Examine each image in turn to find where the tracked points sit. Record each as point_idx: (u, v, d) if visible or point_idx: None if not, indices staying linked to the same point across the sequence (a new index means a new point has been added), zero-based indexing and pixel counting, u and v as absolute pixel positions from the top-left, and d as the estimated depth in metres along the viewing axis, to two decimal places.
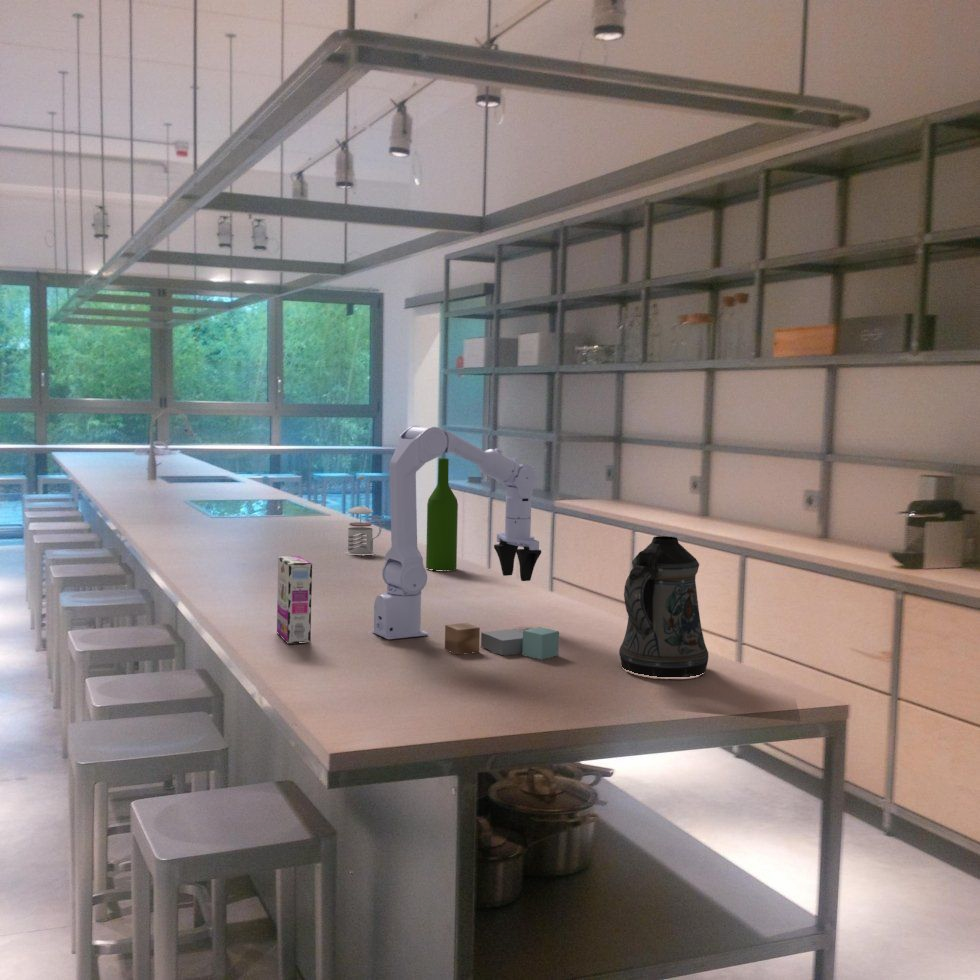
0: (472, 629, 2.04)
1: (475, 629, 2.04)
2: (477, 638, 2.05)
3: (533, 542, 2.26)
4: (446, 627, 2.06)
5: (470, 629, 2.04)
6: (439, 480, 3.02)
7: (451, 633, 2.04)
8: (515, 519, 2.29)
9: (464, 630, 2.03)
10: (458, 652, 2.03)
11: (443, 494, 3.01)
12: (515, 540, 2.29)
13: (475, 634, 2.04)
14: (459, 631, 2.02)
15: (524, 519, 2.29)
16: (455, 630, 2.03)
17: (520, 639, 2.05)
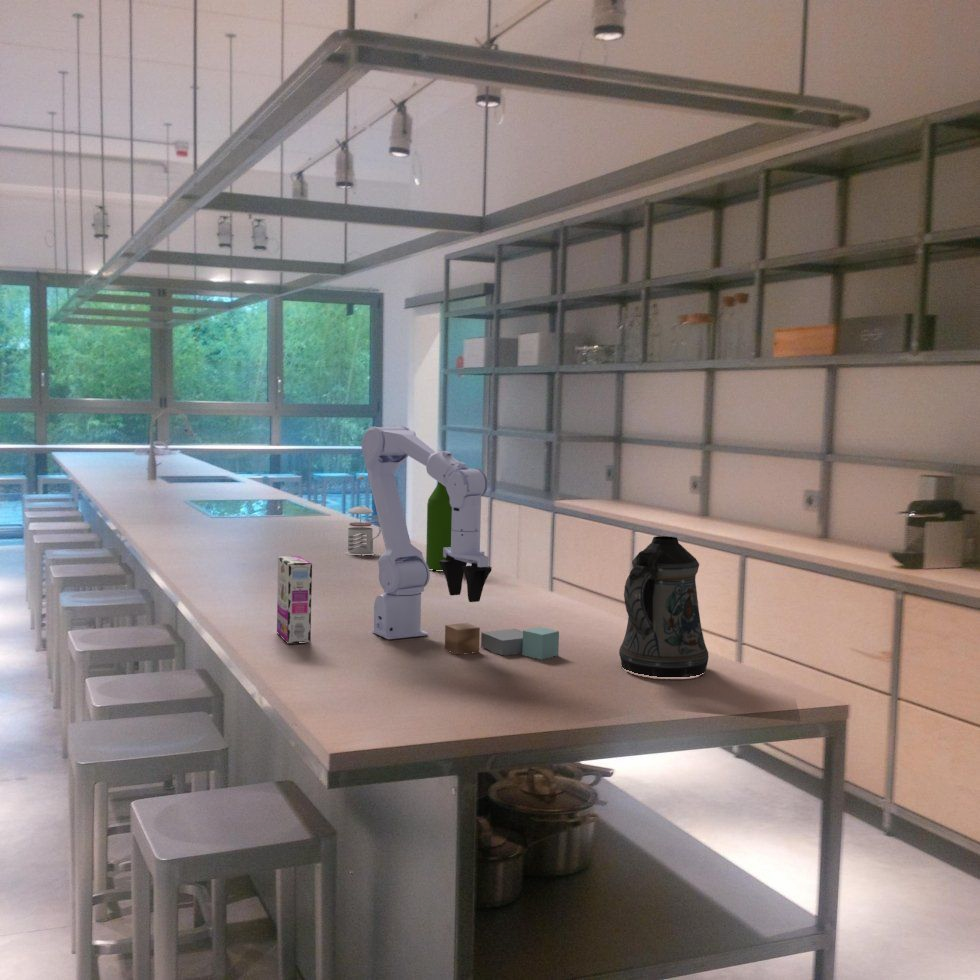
0: (472, 629, 2.04)
1: (475, 629, 2.04)
2: (477, 638, 2.05)
3: (482, 558, 1.99)
4: (446, 627, 2.06)
5: (470, 629, 2.04)
6: None
7: (451, 633, 2.04)
8: (462, 532, 2.02)
9: (464, 630, 2.03)
10: (458, 652, 2.03)
11: (443, 494, 3.01)
12: (462, 556, 2.01)
13: (475, 634, 2.04)
14: (459, 631, 2.02)
15: (472, 532, 2.02)
16: (455, 630, 2.03)
17: (520, 639, 2.05)
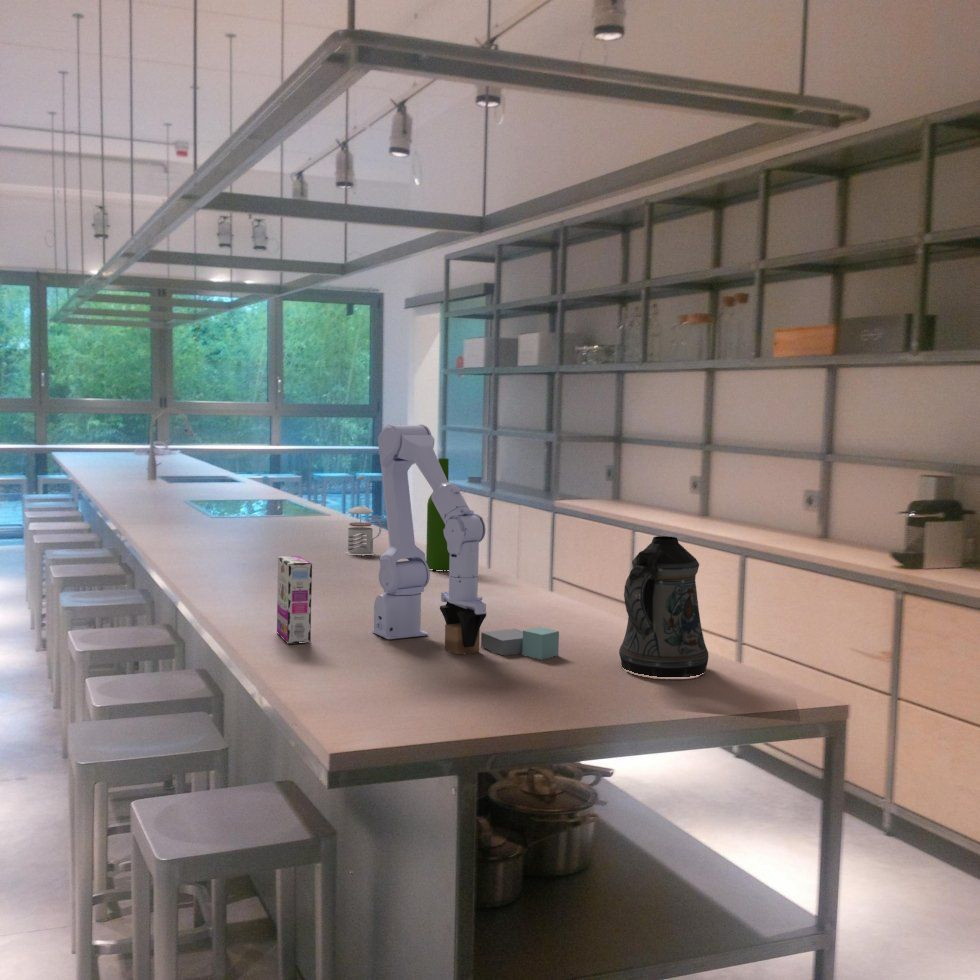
0: None
1: None
2: (477, 637, 2.05)
3: (479, 606, 1.99)
4: (446, 626, 2.06)
5: None
6: None
7: (451, 633, 2.04)
8: (459, 578, 2.02)
9: None
10: (458, 651, 2.03)
11: None
12: (459, 602, 2.02)
13: None
14: (459, 630, 2.02)
15: (470, 578, 2.02)
16: (455, 629, 2.03)
17: (520, 639, 2.05)
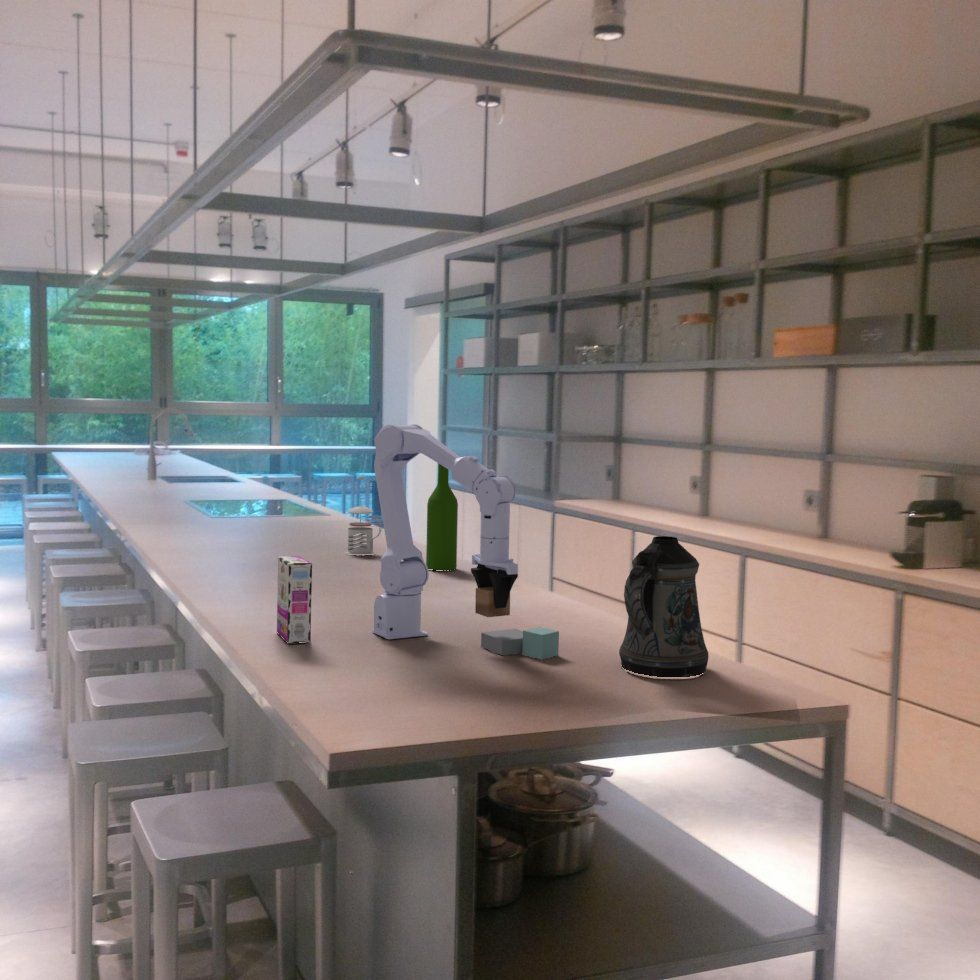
0: None
1: None
2: (508, 600, 2.05)
3: (511, 566, 1.99)
4: (476, 590, 2.07)
5: None
6: (439, 480, 3.02)
7: (482, 596, 2.05)
8: (491, 539, 2.03)
9: None
10: (489, 614, 2.03)
11: (443, 494, 3.01)
12: (491, 563, 2.02)
13: None
14: (490, 593, 2.03)
15: (501, 539, 2.03)
16: (486, 592, 2.04)
17: (520, 639, 2.05)
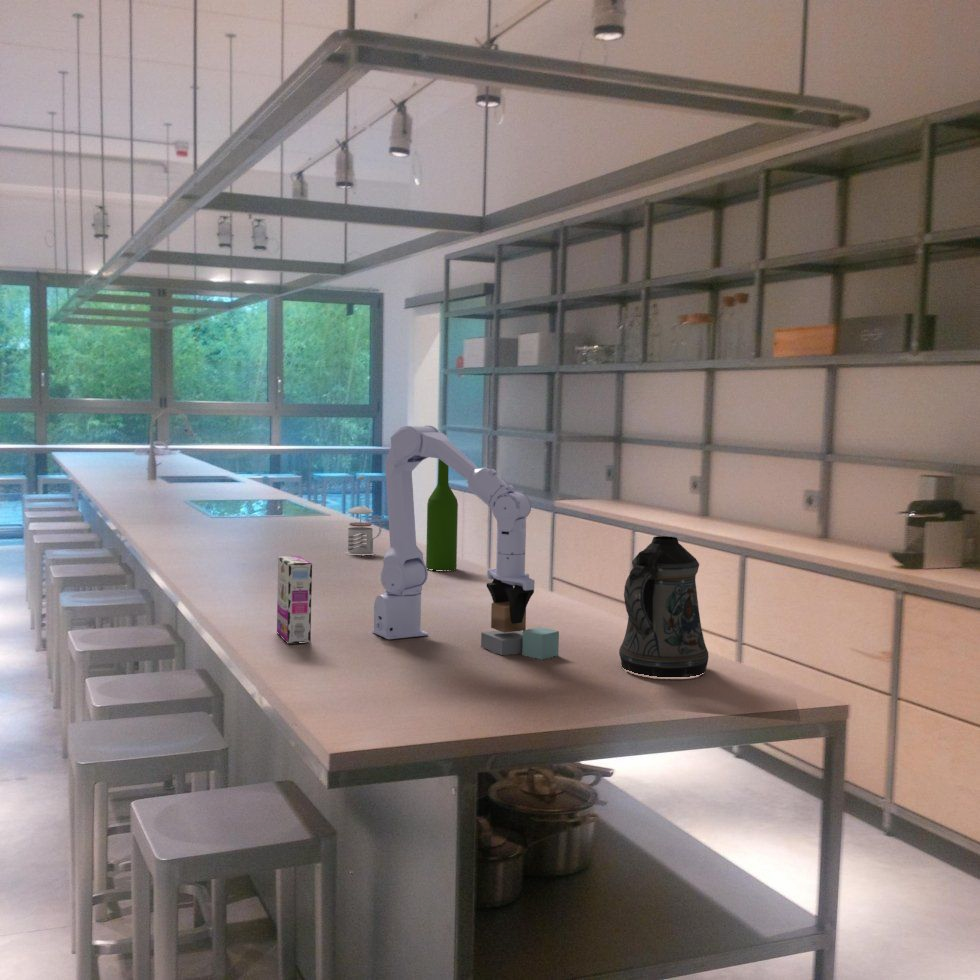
0: None
1: None
2: (524, 616, 2.06)
3: (528, 582, 2.00)
4: (492, 605, 2.08)
5: None
6: (439, 480, 3.02)
7: (498, 611, 2.06)
8: (507, 555, 2.04)
9: None
10: (505, 629, 2.04)
11: (443, 494, 3.01)
12: (507, 578, 2.03)
13: None
14: (506, 608, 2.04)
15: (518, 555, 2.04)
16: (502, 608, 2.05)
17: (520, 639, 2.05)
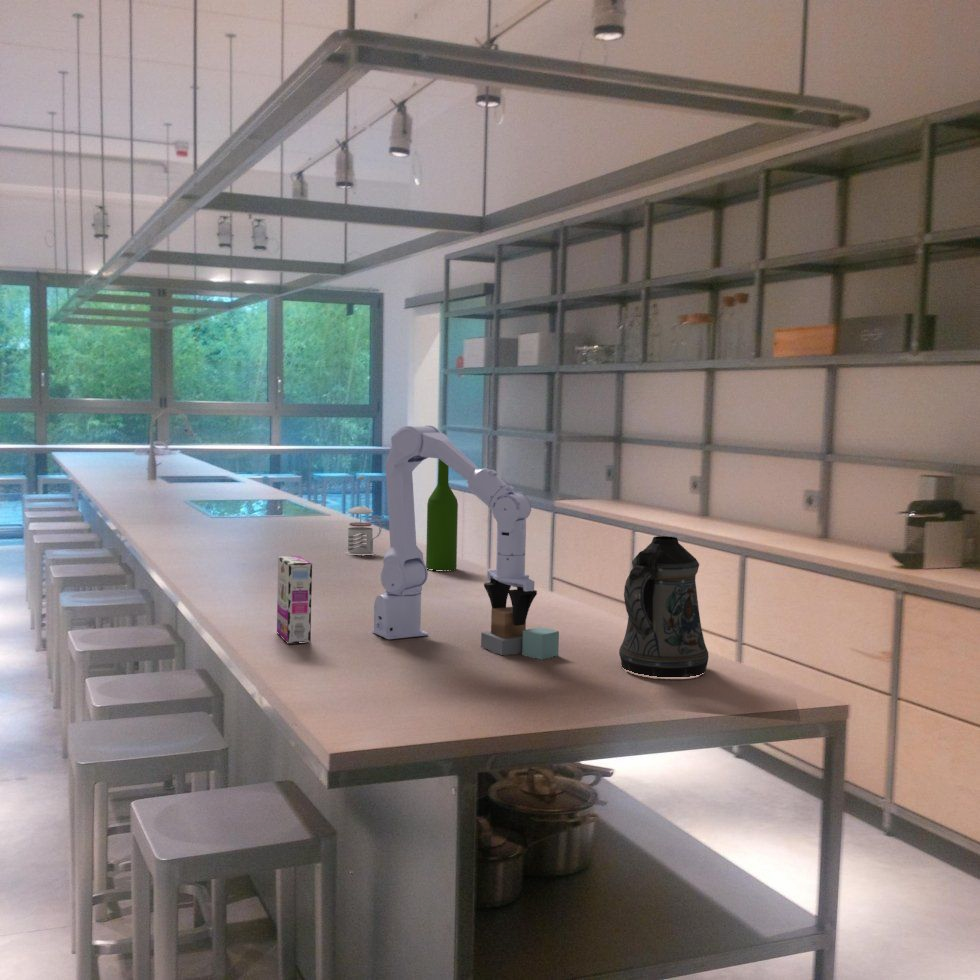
0: None
1: None
2: None
3: (528, 583, 2.00)
4: (492, 611, 2.08)
5: None
6: (439, 480, 3.02)
7: (498, 617, 2.06)
8: (507, 556, 2.04)
9: (511, 613, 2.05)
10: (505, 635, 2.04)
11: (443, 494, 3.01)
12: (507, 579, 2.03)
13: None
14: (506, 614, 2.04)
15: (517, 556, 2.04)
16: (502, 613, 2.05)
17: (520, 639, 2.05)
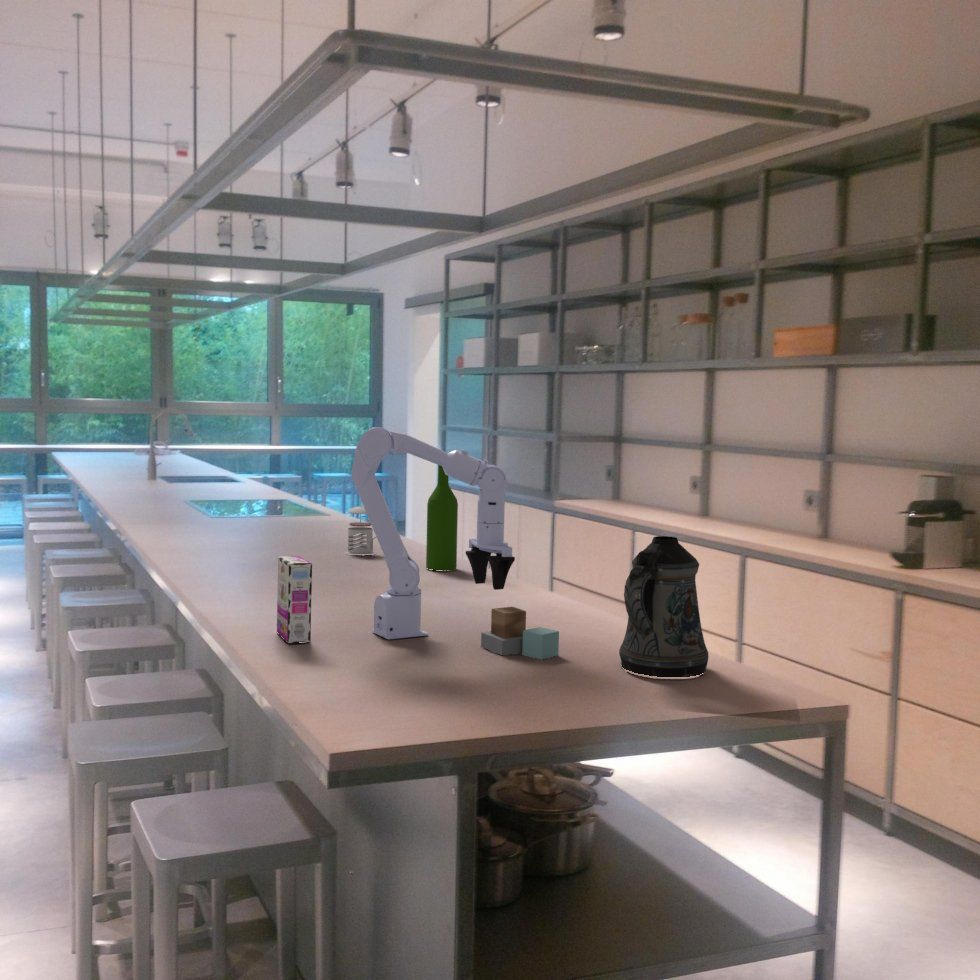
0: (519, 612, 2.06)
1: (522, 612, 2.06)
2: (524, 621, 2.06)
3: (506, 549, 2.13)
4: (492, 611, 2.08)
5: (517, 612, 2.05)
6: (439, 480, 3.02)
7: (498, 617, 2.06)
8: (487, 524, 2.16)
9: (511, 613, 2.05)
10: (505, 635, 2.04)
11: (443, 494, 3.01)
12: (487, 546, 2.16)
13: (522, 617, 2.06)
14: (506, 614, 2.04)
15: (497, 524, 2.16)
16: (502, 613, 2.05)
17: (520, 639, 2.05)
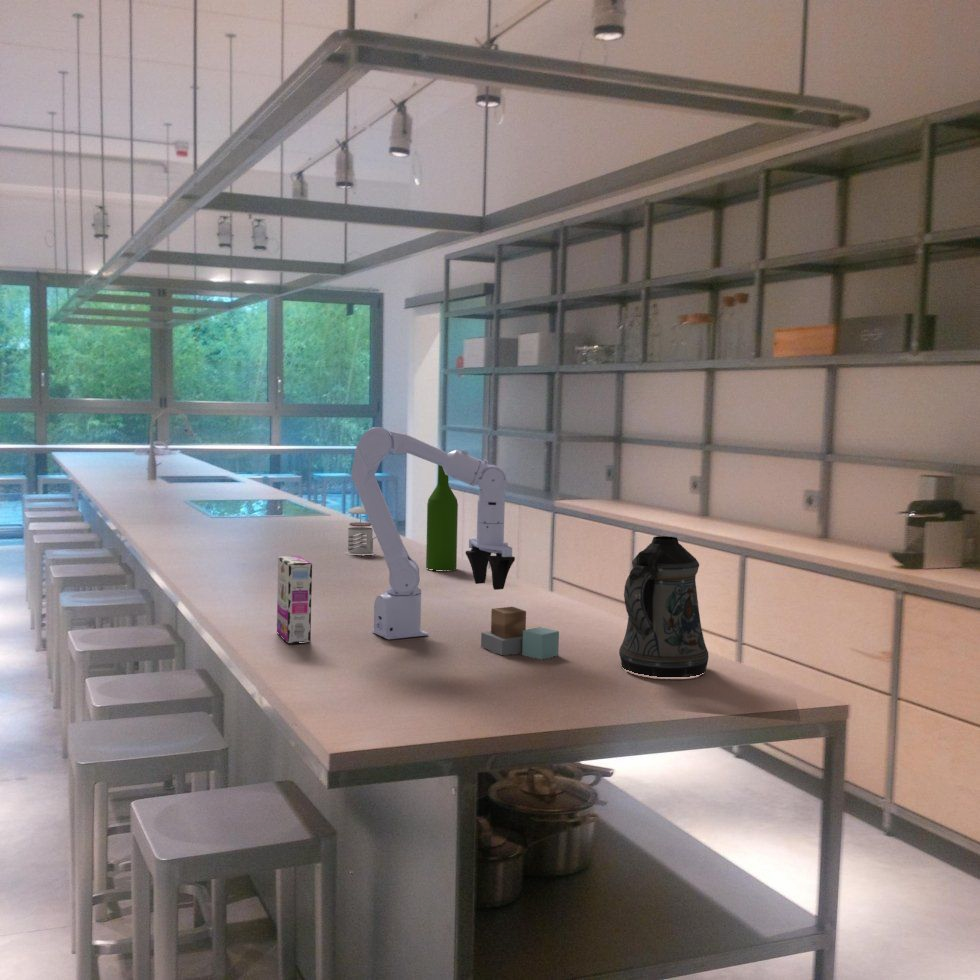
0: (519, 612, 2.06)
1: (522, 612, 2.06)
2: (524, 621, 2.06)
3: (506, 549, 2.13)
4: (492, 611, 2.08)
5: (517, 612, 2.05)
6: (439, 480, 3.02)
7: (498, 617, 2.06)
8: (487, 524, 2.16)
9: (511, 613, 2.05)
10: (505, 635, 2.04)
11: (443, 494, 3.01)
12: (487, 546, 2.16)
13: (522, 617, 2.06)
14: (506, 614, 2.04)
15: (497, 524, 2.16)
16: (502, 613, 2.05)
17: (520, 639, 2.05)
